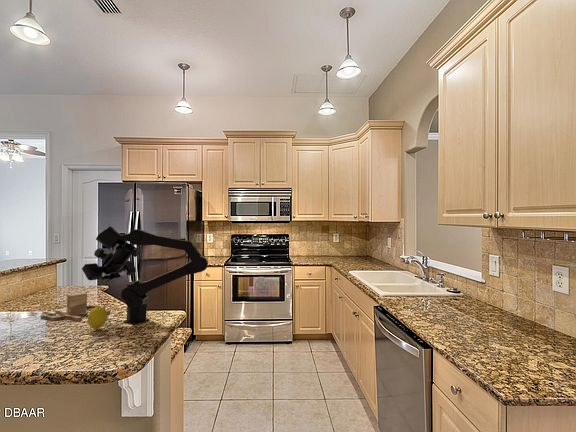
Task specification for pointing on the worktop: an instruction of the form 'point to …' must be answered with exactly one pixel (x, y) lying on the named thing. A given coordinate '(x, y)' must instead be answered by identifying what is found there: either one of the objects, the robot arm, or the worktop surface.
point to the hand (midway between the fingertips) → (99, 284)
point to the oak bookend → (74, 305)
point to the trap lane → (52, 315)
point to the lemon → (97, 317)
